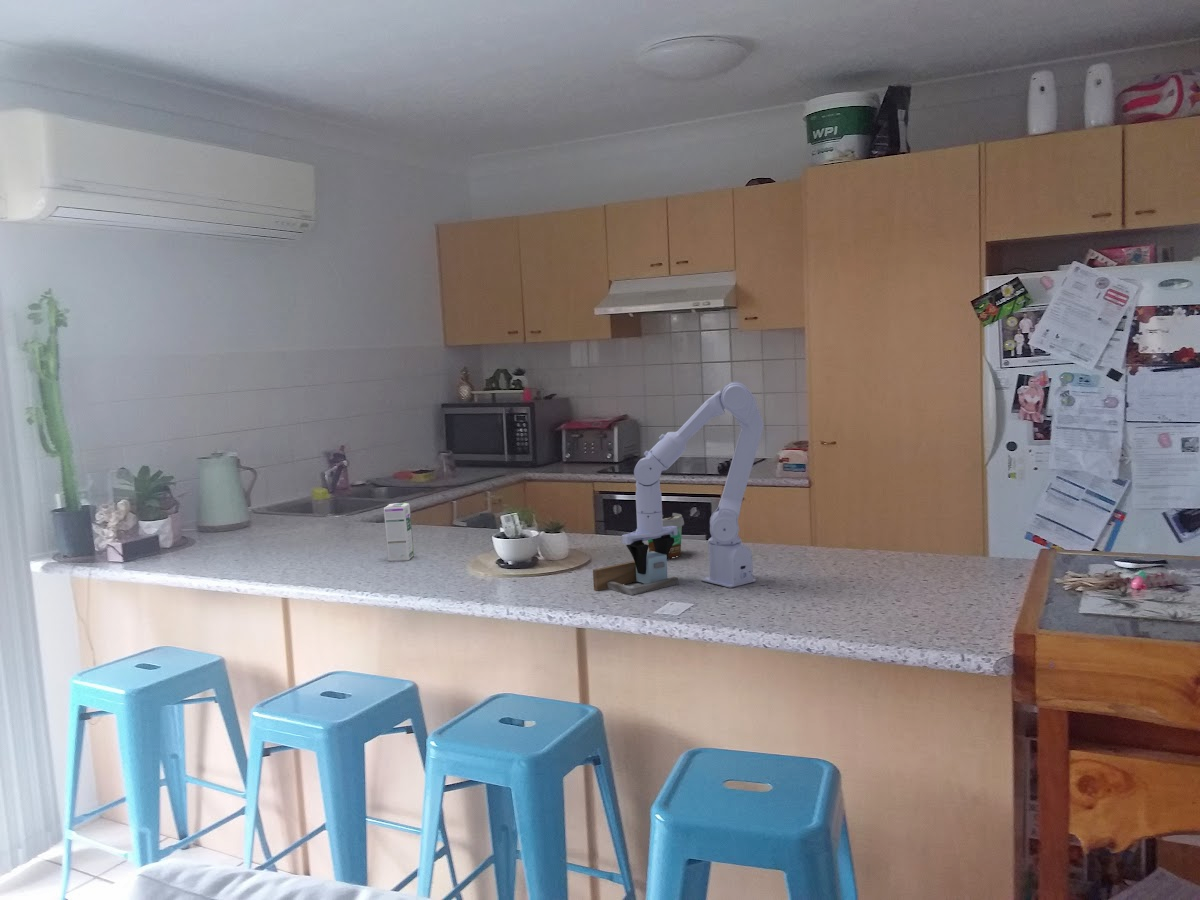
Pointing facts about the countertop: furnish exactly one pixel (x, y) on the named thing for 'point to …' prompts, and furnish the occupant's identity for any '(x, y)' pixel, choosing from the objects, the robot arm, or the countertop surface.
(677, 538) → the food container
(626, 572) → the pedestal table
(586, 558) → the countertop surface
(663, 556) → the cabinet block
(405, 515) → the syrup box
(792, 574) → the countertop surface
